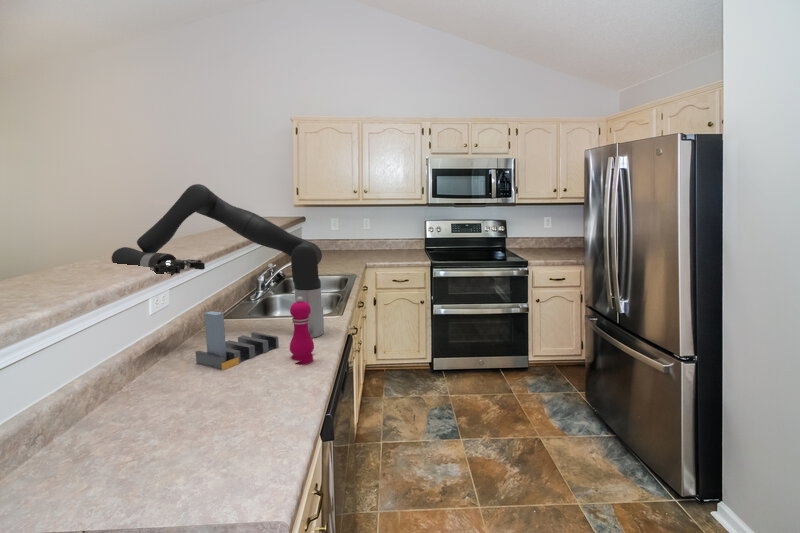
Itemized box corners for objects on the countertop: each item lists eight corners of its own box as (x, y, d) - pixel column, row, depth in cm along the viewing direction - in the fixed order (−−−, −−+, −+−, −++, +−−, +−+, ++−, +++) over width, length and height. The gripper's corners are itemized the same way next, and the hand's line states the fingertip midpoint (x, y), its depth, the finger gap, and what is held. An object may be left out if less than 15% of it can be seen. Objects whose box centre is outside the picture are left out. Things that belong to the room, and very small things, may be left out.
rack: (254, 346, 151) (253, 332, 150) (279, 351, 145) (279, 336, 144) (196, 368, 132) (195, 351, 131) (223, 375, 126) (222, 358, 125)
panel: (215, 360, 133) (211, 311, 131) (226, 363, 131) (223, 313, 129) (208, 363, 131) (204, 313, 129) (219, 366, 129) (216, 315, 127)
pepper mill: (309, 366, 132) (306, 299, 130) (286, 364, 134) (283, 298, 131) (318, 357, 139) (315, 294, 137) (296, 356, 141) (293, 293, 138)
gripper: (135, 255, 139) (168, 258, 131) (178, 250, 151) (210, 253, 143) (138, 279, 140) (171, 283, 132) (179, 272, 152) (212, 276, 144)
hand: (191, 268), depth 138 cm, fingers open, 8 cm apart
